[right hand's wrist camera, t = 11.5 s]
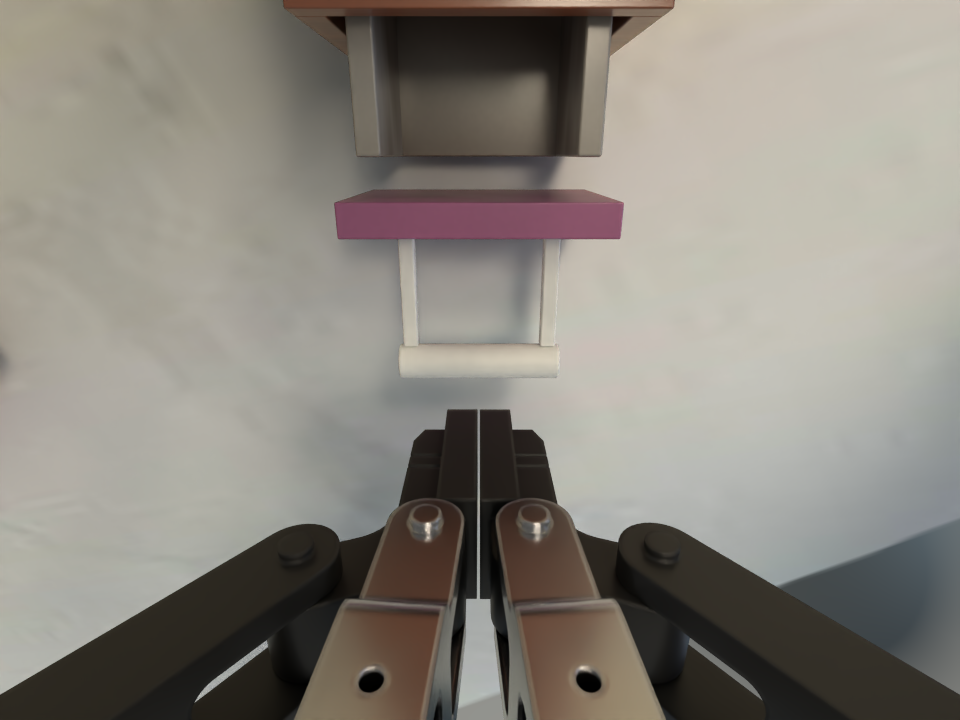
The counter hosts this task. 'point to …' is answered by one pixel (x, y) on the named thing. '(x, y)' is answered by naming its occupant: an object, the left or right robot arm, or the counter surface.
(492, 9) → the cabinet
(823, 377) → the counter surface
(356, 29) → the drawer
